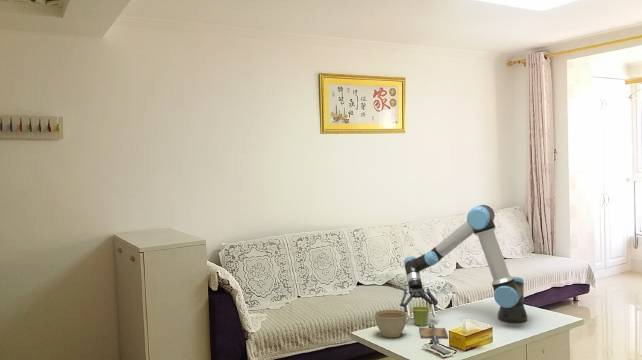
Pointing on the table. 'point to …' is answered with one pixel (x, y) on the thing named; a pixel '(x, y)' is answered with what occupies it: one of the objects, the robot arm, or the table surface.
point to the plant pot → (420, 315)
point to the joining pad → (433, 333)
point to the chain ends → (434, 337)
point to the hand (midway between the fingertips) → (421, 316)
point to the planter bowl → (391, 322)
